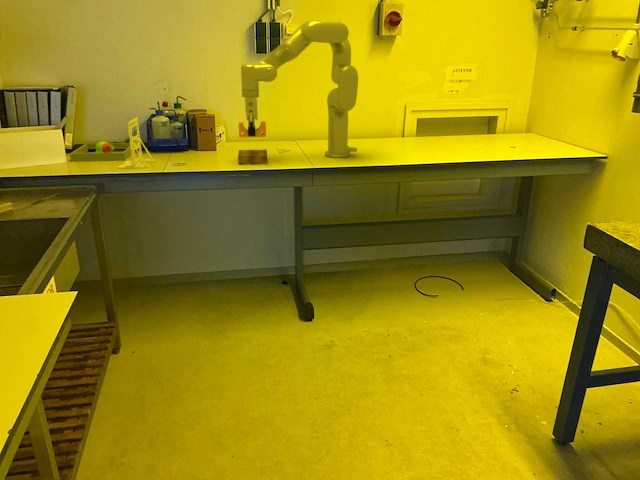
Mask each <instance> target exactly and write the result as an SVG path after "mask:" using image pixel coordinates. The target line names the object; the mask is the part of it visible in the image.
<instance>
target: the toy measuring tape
mask: <svg viewBox="0 0 640 480" xmlns="http://www.w3.org/2000/svg"><path fill="white" fill-rule="evenodd" d="M96 143H97V142H96ZM109 143H110V142H107V141H103V140H102V141H99V142H98V143H97V145H96V151H94V153H114V151H115V150H114V147H113V145H110V144H109Z"/></svg>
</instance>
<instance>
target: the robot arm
mask: <svg viewBox="0 0 640 480" xmlns="http://www.w3.org/2000/svg"><path fill="white" fill-rule="evenodd" d="M348 37H349V28H348V26H347V25H346V24H345V23H343V22H336V21H320V20H309V21H308V20H307V21H305V22H303V23H302V24H300V26H298V27H297V28H296V29H295V30H294V32H293V33H291V34H290V35H289V36H288V37H287V38H286V39H285V40H284V41H283V42H282V43H281V44H279V45H277V47H276V48H274V49H273V50H272V51H271V52H270V53H268V54H267V55H266V56H264V58H263V59H262V60H261V61H260V62H259V63H258V64H253V63H244V64H242V65H241V67H240V77H241V81H240V82H241V98H244V107H245V108H244V109H245V110H244V111H245V116H246V121H247V123H248V126H247V130H248V136H255V129H256V124H255V122H256V121H258V119H259V118H258V116H259V115H258V98H260V86H259V83H260V82H264V83H270V82H273V81H275V80H276V79H277V76H278V71H277V70H278V69H279V68H281V66H283V65H285V64H287V63H289V62H291V61H294V60H295V59H297V58H298V57H299V56H300V55H301V54H302V53H303V52H304V51H305V50H306V49H307V48H308V47H309V46H310V45H311V44H312V43H323V44H328V45H330V48H331V50H332V61H331V62H332V63H331V71H330V72H331V75H330V76H331V81H332V83H334V84H335V85H337V87H335V88H333V89H331V90H330V91H329V92H328V94H327V96H326V97H327V98H326V102H327V103H326V104H327V114H328V116H327V117H328V119H327V120H328V121H327V122H328V123H327V124H328V125H327V126H328V127H327V128H328V129H327V151H325V152H324V156H326V157H329V158H334V159H335V158H339V159H340V158H341V159H342V158H347V157H350V156H351V152H358V147H354V146H352V147H351V146H349V145H348V144H349V143H348V141H349V140H348V139H349V138H348V135H349V112H350V111H351V110H353V109H354V108H355V106H356V104H357V99H358V98H357V97H358V87H359V86H358V85H359V73H358V70H357V69H356V68H355V67H354V66H353V65H352V47H351V44H350V41H349V39H348Z"/></svg>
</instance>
